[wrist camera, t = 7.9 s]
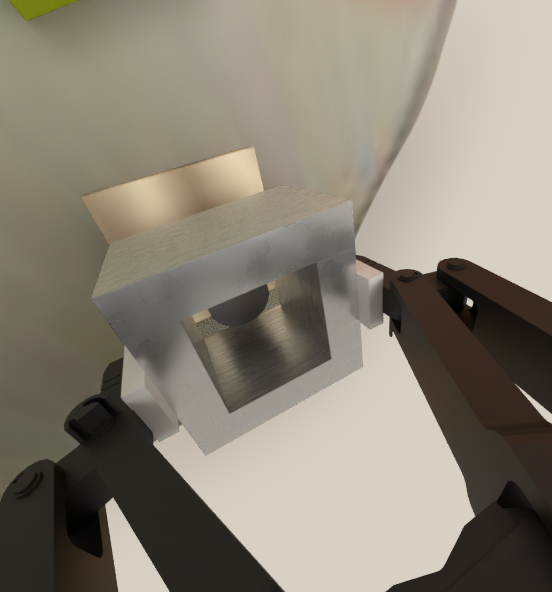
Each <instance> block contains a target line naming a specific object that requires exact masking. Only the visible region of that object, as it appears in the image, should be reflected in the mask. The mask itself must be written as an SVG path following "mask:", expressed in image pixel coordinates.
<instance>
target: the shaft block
mask: <svg viewBox="0 0 552 592" xmlns="http://www.w3.org/2000/svg"><path fill="white" fill-rule="evenodd" d="M262 191H264V189H263V184H262V180H261V176H260V171H259V167H258V163H257V159H256V154H255V150H254V147H247V148H243V149H240V150H237V151H233V152H230V153H226V154H223V155H219V156H216V157H212V158H209V159H205V160H202V161H199V162H195V163H192V164H188V165H185V166H181V167H178V168H174V169H171V170H168V171H164V172H161V173H157V174H154V175H150V176H147V177H143V178H140V179H136V180H133V181H130V182H126V183H123V184H119V185H116V186H112V187H109V188H105V189H102V190H98V191H95V192H92V193H88V194H85V195H83V196H81V199H82V201H83V202H84V204H85V206H86V207H87V209H88V211H89V212H90V214H91V216H92V217H93V219H94V221H95V222H96V224H97V226H98V227H99V229H100V230H101V232H102V234H103V235H104V237H105V239H106V240H107V242H108V244H109V245H110V243H111V242H114V241H117V240H120V239H123V238H126V237H129V236H132V235H135V234H138V233H141V232H143V231H146V230H149V229H152V228H155V227H158V226H161V225H164V224H167V223H170V222H173V221H176V220H179V219H182V218H185V217H188V216H191V215H194V214H197V213H200V212H203V211H206V210H209V209H212V208H215V207H218V206H221V205H224V204H227V203H230V202H233V201H236V200H239V199H242V198H244V197H247V196H250V195H253V194H256V193H259V192H262ZM274 288H276V286H275V282H274V281H271V282H269V283H267V284H264V285H262V286H260V287H257V288H255V289H253V290H250V291H248V292H246V293H243V294H241V295H239V296H236V297H234V298H232V299H229V300H227V301H225V302H222V303H220V304H218V305H216V306H213V307H211V308H209V309H206V310H204V311H202V312H199V313H197V314H195V315H192V316H193V318H194V320H195V322H196V323H197V322H199V321H202V320H204V319H206V318H208V317H211V316H212V317H213V319H215V320H216V321H217V322H218V323H220V324H222V325H225V326H241V325H245V324H247V323H249V322H251V321H253V320H254V319H256V318H257V317H258V316H259V315H260V314H261V313H262V311H263V310H264V308H265V306H266V304H267V301H268V297H269V291H270V290H272V289H274Z"/></svg>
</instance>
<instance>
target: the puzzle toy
mask: <svg viewBox="0 0 552 592" xmlns="http://www.w3.org/2000/svg"><path fill="white" fill-rule="evenodd" d="M9 1H10V2H11V3H12V5H13V6H14V7H15V8H16V9H17V10H18V12H19V13H20V14H21V15H22V16H23V17H24V19H25V20H26V21H28V20H30V19H33V18H35V17H38V16H40V15H43V14H45V13H48V12H51V11H53V10H56V9H58V8H61V7H63V6H66V5H68V4H71V3H73V2H76V1H79V0H9Z"/></svg>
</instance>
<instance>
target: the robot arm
mask: <svg viewBox="0 0 552 592" xmlns="http://www.w3.org/2000/svg"><path fill="white" fill-rule="evenodd" d="M356 268H357V287H358V302H359V317H360V322H361V323H362V324H363V325H365V326H366V327H367V328H369V329H372V328H374V327H376V326H378V325H380V324H382V323H383V313H385V314H386V315H388V316H389V317H390V323H389V324H390V326H389V335H390V337H392V332H394V334H395V336H396V338H397V340H398V342H399V344H400V346H401V348H402V350H403V352H404V354H405V356H406V358H407V360H408V363H409V365H410V366H411V369H412V371H413V373H414V375H415V377H416V379H417V381H418V383H419V385H420V387H421V389H422V391H423V393H424V395H425V397H426V400H427V402H428V404H429V406H430V408H431V410H432V412H433V414H434V416H435V418H436V420H437V422H438V424H439V426H440V428H441V430H442V432H443V435H444V437H445V438H446V441H447V443H448V445H449V447H450V449H451V451H452V453H453V455H454V457H455V459H456V461H457V463H458V465H459V467H460V470H461V472H462V474H463V476H464V479H465V482H466V487H467V493H468V498H469V501H470V504H471V507H472V509H473V512H474V514H475V516H476V517H474V518H473V519H472V520H471V521H470V522H468V523H467V524H466V525H465V526H464V528H463V530H462V532H461V534H460V536H459V538H458V540H457V542H456V544H455V546H454V548H453V550H452V551H451V554H450V555H449V557H448V560H447V562H446V563H445V565H444V567H443V568H442V569H441V570H440V571H437V572H435V573H431V574H428V575H425V576H422V577H419V578H415V579H412V580H409V581H406V582H403V583H399V584H396V585H393V586H392V587H391V588H390V589H389V590H387V591H386V592H552V424H551V423H549V422H548V421H546V420H545V419H544V418H543V417H542V416H541V414H540V413H539V412H538V411H537V410H536V408H535V407H534V406H533V405H532V404H531V402H530V401H529V400H528V399H527V398H526V397H525V396H524V394H523V393H522V392H521V391H520V389H519V388H518V387H517V386H516V385H518V386H519V387H520V388H521V389H522V390H524V391H525V392H526V393H527V394H529V395H530V396H531V397H532V398H533V399H535V400H536V401H537V402H538V403H539V404H540V405H542V406H543V407H544V408H545V409H547V410H548V411H549V412H550V413H551V414H552V302H550V301H548V300H546V299H544V298H542V297H540V296H538V295H536V294H534V293H532V292H530V291H528V290H526V289H524V288H522V287H520V286H518V285H516V284H514V283H512V282H510V281H508V280H506V279H504V278H502V277H500V276H498V275H496V274H494V273H492V272H490V271H488V270H486V269H484V268H482V267H480V266H478V265H476V264H474V263H472V262H470V261H468V260H464V259H459V258H449V259H444V260H442V261H440V262H439V263H438V266H437V271H435V272H431V273H427V274H422V273H420V272H419V271H416V270H411V269H403V270H398V271H394V270H392V269H390V268H388V267H385V266H383V265H381V264H379V263H376V262H375V261H373V260H372V261H371V260H370V259H368V258H366V257H364V256H359V255H356ZM467 298H469V299H471V300H472V301H473V306H472V307H470V306H468V305H467V304H466V302H467ZM515 384H516V385H515ZM64 430H65V431H66V432H67V433H68V434H69V435H71V436H72V437H73V438H74V439H75V440H77V441H78V442H79V443H80V445H79V446H78V447H77V448H75V449H74V450H73V451H72V452H70V453H69V454H68V455H66V456H65V457H64V458H62V459H61V460H60V461H58V462H57V463H54V462H53V461H51V460H48V459H45V460H40V461H37V462H35V463H34V464H32V465H30V466H28V467H27V468H26V469H25V470H23V471H22V472H21V473H19V475H18V476H17V477H16V478H15V479H14V480H13V481H12V482H11V483H10V485H9V486H8V488H7V489H6V490H5V492H4V494H3V496H2V499H1V502H0V592H118V588H117V580H116V574H115V567H114V560H113V554H112V547H111V541H110V534H109V528H108V521H107V514H106V508H105V504H106V503H107V502H108V501H109V500H111V498H114V499H115V501H116V502H117V504H118V506H119V508H120V509H121V511H122V513H123V514H124V516H125V518H126V519H127V521H128V523H129V524H130V526H131V528H132V529H133V531H134V533H135V534H136V536H137V538H138V539H139V541H140V543H141V544H142V546H143V548H144V549H145V551H146V553H147V554H148V556H149V558H150V559H151V561H152V563H153V564H154V566H155V568H156V569H157V571H158V573H159V574H160V576H161V578H162V579H163V581H164V583H165V584H166V586H167V588H168V589H169V591H170V592H285V591H284V590H283V589H282V588H281V587H280V586H279V585H278V583H277V582H276V581H275V580H274V579H273V578H272V577H271V576H270V574H269V573H268V572H267V571H266V570H265V569H264V568H263V567H262V566H261V564H260V563H259V562H258V561H257V560H256V559H255V558H254V557H253V556H252V555H251V553H250V552H249V551H248V550H247V549H246V548H245V547H244V546H243V544H242V543H241V542H240V541H239V540H238V539H237V538H236V537H235V535H234V534H233V533H232V532H231V531H230V530H229V529H228V528H227V527H226V525H225V524H224V523H223V522H222V521H221V520H220V519H219V518H218V517H217V516H216V514H215V513H214V512H213V511H212V510H211V509H210V508H209V507H208V505H207V504H206V503H205V502H204V501H203V500H202V499H201V498H200V497H199V495H198V494H197V493H196V492H195V491H194V490H193V489H192V488H191V486H190V485H189V484H188V483H187V482H186V481H185V480H184V479H183V478H182V476H181V475H180V474H179V473H178V472H177V471H176V470H175V469H174V468H173V466H172V465H171V464H170V463H169V462H168V461H167V460H166V459H165V458H164V457H163V455H162V454H161V453H160V452H159V451H158V450H157V449H156V448H155V447H154V445H153V435H154V436H155V437H156V438H157V440H158V441H159V442H160V441H162V440H164V439H166V438H168V437H170V436H171V435H173V434H175V433H177V432H179V427H178V420H177V415H176V414H175V413H174V411H173V410H172V408H171V407H170V406H169V404H168V403H167V402H166V400H165V399H164V397H163V396H162V395H161V393H160V392H159V391H158V389H157V388H156V386H155V385H154V384H153V382H152V381H151V380H150V378H149V377H148V375H147V374H146V373H145V371H143V369H142V368H141V367H140V365H139V364H138V363H137V361H136V360H135V359H134V357H133V356H132V354H131V353H130V352H129V350H128V349H127V348H126V346H125V348H124V357H123V358H121V359H118V360H116V361H114V362H112V363H110V364H109V365H108V367H107V369H106V370H105V372H104V373H103V380H102V386H101V392H100V394H96V395H94V396H91V397H89V398H87V399H86V400H84V401H82V402H81V403H80V404H79V405H77V406H76V407H75V408H74V409H73V410H72V411H71V413H70V414H69V415H68V417H67V418H66V421H65V423H64Z"/></svg>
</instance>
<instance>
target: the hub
mask: <svg viewBox="0 0 552 592" xmlns="http://www.w3.org/2000/svg"><path fill="white" fill-rule="evenodd" d="M271 281H274V282H275V286H276V290H277V293H278V297H279V301H280V304H279V305H277V306H275V307H273V308H270V309H268V310H266V311H264V312H262V313H261V314H260V315H259V316H258V317H257V318H256V319H254V320H253V321H251V322H249V323H247V324H245V325H241V326H231V327H229V328H227V329H224V330H222V331H220V332H218V333H216V334H213V335H211V336H209V337H207V338H205V339H204V338H203V336H202V334H201V332H200V330H199V328H198V326H197V324H196V322H195V320H194V318H193V316H192V315H195V314H197V313H199V312H202V311H204V310H206V309H209V308H211V307H213V306H216V305H218V304H220V303H222V302H225V301H227V300H229V299H232V298H234V297H236V296H239V295H241V294H243V293H246V292H248V291H250V290H253V289H255V288H257V287H260V286H262V285H264V284H267V283H269V282H271ZM91 300H92V301H93V302H94V304H95V305H96V306H97V308H98V309H99V311H100V312H101V313H102V315H103V316H104V317H105V319H106V320H107V322H108V323H109V324H110V326H111V327H112V328H113V330H114V331H115V333H116V334H117V335H118V337H119V338H120V339H121V341H122V342H123V343H124V345H125V346H126V348H127V349H128V350H129V352H130V353H131V354H132V356H133V357H134V359H135V360H136V361H137V363H138V364H139V365H140V367H141V368H142V369H143V371H145V373H146V374H147V375H148V377H149V378H150V380H151V381H152V382H153V384H154V385H155V386H156V388H157V389H158V391H159V392H160V393H161V395H162V396H163V397H164V399H165V400H166V402H167V403H168V404H169V406H170V407H171V408H172V410H173V411H174V413H175V414H176V415H177V417H178V419H179V420H180V422H181V423H182V424H183V426H184V427H185V428H186V430H187V431H188V432H189V434H190V435H191V436H192V438H193V439H194V441H195V442H196V443H197V445H198V446H199V448H200V449H201V450H202V452H203V453H204V454H205V455H208V454H210V453H212V452H213V451H215V450H217V449H218V448H220V447H222V446H224V445H226V444H227V443H229V442H231V441H233V440H234V439H236V438H238V437H240V436H242V435H243V434H245V433H247V432H249V431H250V430H252V429H254V428H256V427H257V426H259V425H261V424H263V423H264V422H266V421H268V420H270V419H271V418H273V417H275V416H277V415H279V414H280V413H282V412H284V411H286V410H287V409H289V408H291V407H292V406H295V405H296V404H298V403H300V402H302V401H303V400H305V399H307V398H309V397H310V396H312V395H314V394H316V393H317V392H319V391H321V390H323V389H324V388H326V387H328V386H330V385H331V384H333V383H335V382H337V381H339V380H340V379H342V378H344V377H346V376H348V375H349V374H351V373H353V372H354V371H356V370H358V369H360V368H361V367H363V361H362V346H361V330H360V317H359V302H358V287H357V268H356V253H355V237H354V221H353V206H352V200H349V199H345V198H340V197H335V196H331V195H326V194H321V193H317V192H312V191H308V190H303V189H298V188H294V187H289V186H284V185H280V186H277V187H274V188H271V189H268V190H265V191H262V192H259V193H256V194H253V195H250V196H247V197H244V198H242V199H239V200H236V201H233V202H230V203H227V204H224V205H221V206H218V207H215V208H212V209H209V210H206V211H203V212H200V213H197V214H194V215H191V216H188V217H185V218H182V219H179V220H176V221H173V222H170V223H167V224H164V225H161V226H158V227H155V228H152V229H149V230H146V231H143V232H141V233H138V234H135V235H132V236H129V237H126V238H123V239H120V240H117V241H114V242H111V243H110V245H109V248H108V251H107V254H106V257H105V260H104V263H103V266H102V269H101V272H100V274H99V277H98V280H97V283H96V286H95V289H94V292H93V295H92V298H91Z"/></svg>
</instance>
